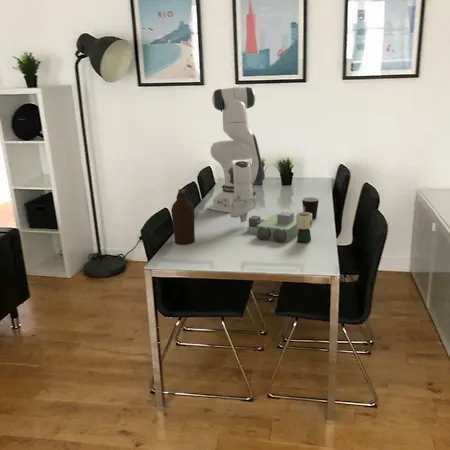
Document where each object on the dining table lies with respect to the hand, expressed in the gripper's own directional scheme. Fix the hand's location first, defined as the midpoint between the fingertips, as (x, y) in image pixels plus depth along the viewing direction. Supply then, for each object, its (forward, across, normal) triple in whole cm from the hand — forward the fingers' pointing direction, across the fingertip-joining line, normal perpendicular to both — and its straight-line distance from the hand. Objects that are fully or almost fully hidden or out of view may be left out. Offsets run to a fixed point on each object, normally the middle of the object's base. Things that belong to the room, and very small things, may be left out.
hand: (243, 221), depth 257 cm
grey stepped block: (+4, 0, -8) cm, 9 cm away
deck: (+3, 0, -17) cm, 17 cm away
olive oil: (+4, -30, +15) cm, 34 cm away
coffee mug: (+4, +32, -23) cm, 40 cm away
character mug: (+4, -6, -35) cm, 36 cm away
